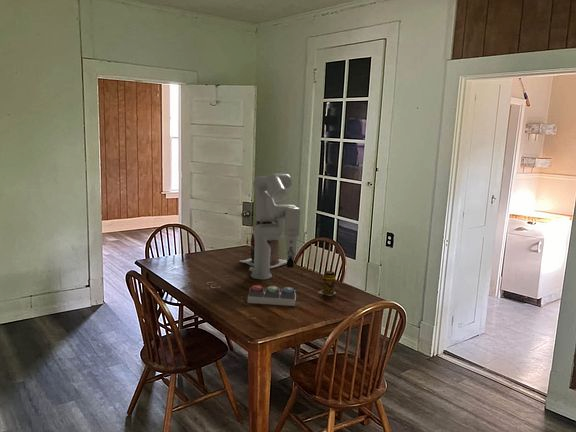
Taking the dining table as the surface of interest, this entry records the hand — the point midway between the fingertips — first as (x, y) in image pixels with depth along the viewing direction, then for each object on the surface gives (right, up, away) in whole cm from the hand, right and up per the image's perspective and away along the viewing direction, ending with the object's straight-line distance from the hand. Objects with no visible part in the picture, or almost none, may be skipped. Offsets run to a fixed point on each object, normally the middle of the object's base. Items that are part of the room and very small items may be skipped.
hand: (290, 265), depth 240 cm
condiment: (+20, -18, +20) cm, 33 cm away
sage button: (-9, -14, +2) cm, 17 cm away
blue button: (-1, -14, +2) cm, 14 cm away
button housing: (-9, -19, +3) cm, 21 cm away
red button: (-17, -13, +2) cm, 22 cm away
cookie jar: (-16, -7, +71) cm, 74 cm away
